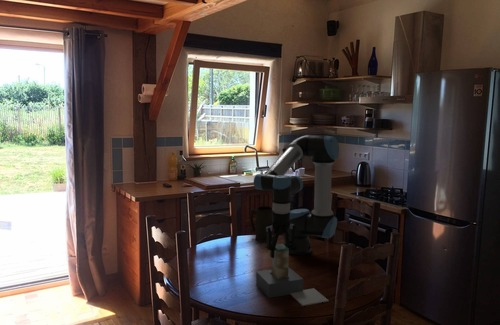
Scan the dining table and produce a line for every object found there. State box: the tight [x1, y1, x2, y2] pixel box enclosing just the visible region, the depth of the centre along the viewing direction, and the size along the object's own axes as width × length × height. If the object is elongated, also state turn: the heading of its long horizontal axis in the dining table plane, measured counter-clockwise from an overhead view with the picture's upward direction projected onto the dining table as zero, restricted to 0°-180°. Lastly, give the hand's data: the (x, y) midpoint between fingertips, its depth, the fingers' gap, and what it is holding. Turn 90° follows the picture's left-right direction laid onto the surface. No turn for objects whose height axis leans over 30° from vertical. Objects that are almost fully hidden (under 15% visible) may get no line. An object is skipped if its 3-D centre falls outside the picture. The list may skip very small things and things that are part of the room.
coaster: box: [290, 287, 329, 307], centre depth 171 cm, size 12×12×1 cm
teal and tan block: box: [271, 243, 290, 280], centre depth 178 cm, size 5×6×15 cm
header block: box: [255, 266, 304, 299], centre depth 179 cm, size 16×14×6 cm
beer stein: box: [248, 205, 274, 243], centre depth 245 cm, size 15×11×20 cm
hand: (280, 263), depth 178 cm, fingers closed on teal and tan block, 5 cm apart
